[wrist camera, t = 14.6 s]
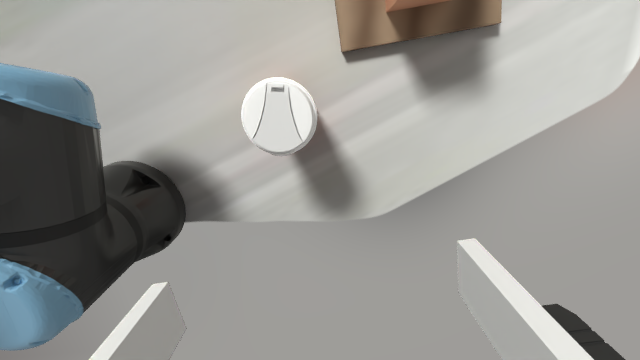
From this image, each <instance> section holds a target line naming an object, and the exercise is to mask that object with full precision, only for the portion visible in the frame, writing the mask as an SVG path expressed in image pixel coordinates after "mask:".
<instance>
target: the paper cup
mask: <svg viewBox="0 0 640 360" xmlns="http://www.w3.org/2000/svg"><path fill="white" fill-rule="evenodd" d="M241 119H242V124H243V128H244V130H245V132H246V134H247V136H248V137H249V139H250V140H251V141H252V142H253V143H254V144H255V145H256V146H257V147H259V148H260V149H262V150H264V151H266V152H268V153H270V154H272V155H275V156H287V155H291V154H293V153H294V152H296V151H298V150H300V149H301V148H303V147H304V146H305V145H306V144H307V143H308V142H309V141H310V140H311V138H312V137H313V135H314V132H315V130H316V126H317V119H318V118H317V109H316V105H315V102H314V100H313V98H312V96H311V95H310V94H309V92H308V91H307V90H306V89H305V88H304V87H303V86H302V85H300V84H299V83H297V82H295V81H293V80H291V79H288V78H283V77H272V78H267V79H265V80H262V81H260V82H259V83H257V84H256V85H254V86H253V87H252V88H251V89H250V90H249V92H248V93H247V95H246V97H245V98H244V101H243V104H242V109H241Z"/></svg>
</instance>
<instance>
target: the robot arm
mask: <svg viewBox="0 0 640 360" xmlns="http://www.w3.org/2000/svg"><path fill="white" fill-rule="evenodd" d="M99 129H101V125H100V124H99V123H98V120H97V115H96V109H95V103H94V97H93V94H92V92H91V90H90V88H89V87H88V86H87V85H86V84H85V83H83V82H82V81H80V80H79V79H76V78H74V77H70V76H66V75H62V74H57V73H51V72H46V71H41V70H36V69H30V68H25V67H19V66H14V65H8V64H3V63H0V350H24V349H29V348H34V347H37V346H39V345H42V344H44V343H46V342H47V341H49V340H51V339H52V338H54V337H55V336H56V335H58V334H59V333H60V332H61V331H62V330H63V329H64V328H66V327H67V326H68V325H69V324H70V323H72V322H74V321H75V320H77V319H79V318H80V317H81V316H82V314H83V313H84V312H85V311H86V310H87V309H88V308H89V307H90V306H91V305H92V303H94V302H95V301H96V300H97V299H98V298H99V297H100V296H101V295H102V294H103V293H104V292H105V291H106V290H107V289H108V288H109V287H110V286H111V285H112V284H113V283H114V282H115V281H116V280H117V279H118V278H119V277H120V276H121V275H122V274H123V273H124V272H125V271H126V270H127V269H128V268H129V267H130V266H131V265H132V264H133V263H134V262H136V261H139V260H141V259H143V258H146V257H148V256H151V255H153V254H155V253H158V252H160V251H161V250H163V249H165V248H166V247H167V246H168V245H169V244H171V242H172V241H173V240H174V239H175V238H176V237H177V236H178V235H179V233H180V232H181V230H182V228H183V225H184V221H185V206H184V202H183V199H182V197H181V194H180V192H179V191H178V189H177V187H176V186H175V185H174V184H173V182H172V181H171V180H170V179H169V178H168V177H167V176H165V175H164V174H163V173H162V172H160V171H159V170H157V169H155V168H153V167H151V166H149V165H146V164H143V163H139V162H134V161H121V162H115V163H112V164H109V165H107V166H104V167H103V162H102V152H101V141H100V131H99ZM457 254H458V255H457V259H458V293H459V294H460V296H461V298H462V299H463V300H464V302H465V304H466V305H467V307H468V308H469V310H470V311H471V313H472V315H473V316H474V318H475V319H476V321H477V322H478V323H479V325H480V327H481V329H482V330H483V332H484V333H485V335H486V336H487V338H488V339H489V341H490V342H491V344H492V345H493V347H494V349H495V350H496V352H497V353H498V355H499V356H500V358H501V359H502V360H625V359H624V358H623V357H622V356H621V355H620V354H619V353H617V352H616V351H615V350H614V349H613V348H612V347H611V346H610V345H609V344H607V343H605V342H604V340H603V339H602V338H601V337H600V336H599V335H598V334H597V333H596V332H594V331H592V330H591V328H590V327H589V326H588V325H587V324H586V323H585V322H584V321H582V320H581V319H580V318H579V317H578V316H577V315H576V314H574V313H572V312H570V311H569V310H567V309H565V308H563V307H562V306H560V305H558V304H553V305H544V306H541V305H540V304H539V303H538V302H537V301H536V300H535V299H534V298H533V297H532V296H531V295H530V294H529V293H528V292H527V291H526V290H525V289H524V288H523V287H522V286H521V285H520V284H519V283H518V282H517V281H516V280H515V279H514V278H513V277H512V276H511V275H510V274H509V273H508V272H507V271H506V270H505V269H504V268H503V267H502V265H501V264H500V263H499V262H497V260H496V259H495V258H494V257H493V256H492V255H491V254H490V253H489V252H488V251H487V250H486V249H485V248H484V247H483V246H482V245H481V244H480V243H479V242H478V241H477V240H476V239H475V238H474V239H467V240H460V241H457ZM185 330H186V326H185V324H184V321H183V318H182V316H181V313H180V311H179V308H178V306H177V303H176V300H175V298H174V296H173V293H172V290H171V288H170V285H169V283H168V282H163V283H156V284H152V285H151V287H149V289H148V290H147V291H146V292H145V294H144V295H143V296H142V297H141V298H140V299H139V301H138V302H137V303H136V304H135V305H134V307H133V308H132V309H131V310H130V311H129V312H128V314H127V315H126V316H125V317H124V318H123V320H122V321H121V322H120V323H119V324H118V325H117V327H116V328H115V329H114V330H113V331H112V333H111V334H110V335H109V336H108V337H107V339H106V340H105V341H104V342H103V343H102V344H101V346H100V347H99V348H98V349H97V351H96V352H95V353H94V354H93V355H92V356H91V358H90V359H89V360H169V359H170V358H171V356H172V354H173V352H174V350H175V349H176V347H177V345H178V343H179V341H180V339H181V338H182V336H183V334H184V332H185Z"/></svg>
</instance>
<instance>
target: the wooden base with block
mask: <svg viewBox="0 0 640 360" xmlns="http://www.w3.org/2000/svg"><path fill="white" fill-rule="evenodd" d="M501 3H502V0H450V1H445V2H440V3H434V4H429V5H424V6H418V7H413V8H408V9H402V10H397V11H392V12H386V4H385V0H335V6H336V13H337V21H338V28H339V36H340V43H341V51H342V52H346V51H352V50H357V49H363V48H369V47H374V46H380V45H385V44H391V43H396V42H402V41H407V40H413V39H418V38H424V37H429V36H435V35H440V34H446V33H451V32H457V31H462V30H468V29H473V28H479V27H484V26H490V25H495V24H498V23H501Z"/></svg>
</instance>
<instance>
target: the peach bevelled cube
mask: <svg viewBox="0 0 640 360" xmlns="http://www.w3.org/2000/svg"><path fill="white" fill-rule="evenodd" d="M445 1H450V0H385V4H386V12H392V11H397V10H402V9H408V8H413V7H418V6H424V5H429V4H434V3H440V2H445Z"/></svg>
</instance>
